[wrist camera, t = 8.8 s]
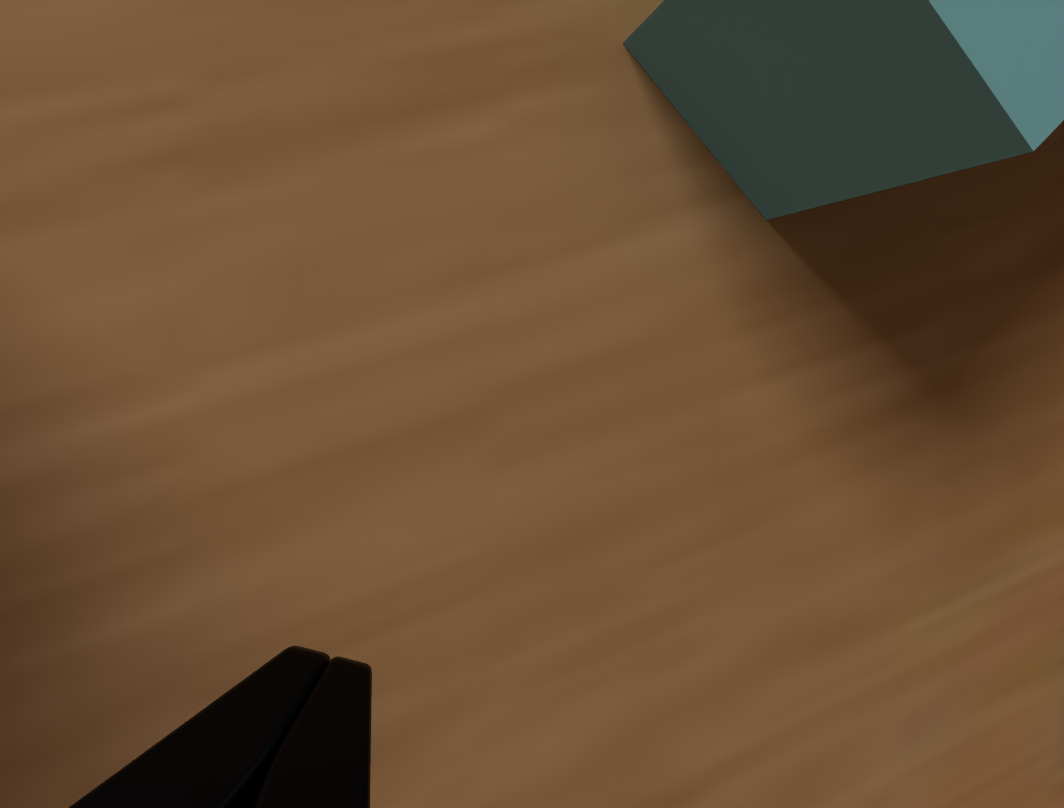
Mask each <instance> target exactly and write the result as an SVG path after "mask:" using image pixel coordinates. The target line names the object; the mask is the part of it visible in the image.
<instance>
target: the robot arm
mask: <svg viewBox="0 0 1064 808" xmlns="http://www.w3.org/2000/svg"><path fill="white" fill-rule="evenodd" d="M371 695H372V670H371V667H370V666H369V665H368V664H366V663H362V662H359V661H355V660H351V659H347V658H343V657H334V658H332V659H331V660H330V657H329V656H328V655H327V654H326V653H323V652H319V651H315V650H311V649H308V648H304V647H300V646H292V647H289V648H287V649H285V650H284V651H282V652H281V653H279V654H278V655H277V656H275V657H274V658H273V659H271V660H270V661H269V662H267V663H266V664H264V665H263V666H262V667H260V668H259V669H258V670H256V671H255V672H253V673H252V674H251V675H249V676H248V677H247V678H245V679H244V680H243V681H241V682H240V683H238V684H237V685H236V686H234V687H233V688H232V689H230V690H229V691H228V692H226V693H225V694H223V695H222V696H221V697H219V698H218V699H217V700H215V701H214V702H212V703H211V704H210V705H208V706H207V707H206V708H204V709H203V710H202V711H200V712H199V713H197V714H196V715H195V716H193V717H192V718H191V719H189V720H188V721H187V722H185V723H184V724H182V725H181V726H180V727H178V728H177V729H176V730H174V731H173V732H171V733H170V734H169V735H167V736H166V737H165V738H163V739H162V740H161V741H159V742H158V743H156V744H155V745H154V746H152V747H151V748H150V749H148V750H147V751H145V752H144V753H143V754H141V755H140V756H139V757H137V758H136V759H135V760H133V761H132V762H130V763H129V764H128V765H126V766H125V767H124V768H122V769H121V770H120V771H118V772H117V773H115V774H114V775H113V776H111V777H110V778H109V779H107V780H106V781H104V782H103V783H102V784H100V785H99V786H98V787H96V788H95V789H94V790H92V791H91V792H89V793H88V794H87V795H85V796H84V797H83V798H81V799H80V800H79V801H77V802H76V803H74V804H73V805H72V806H70V807H69V808H370V765H371Z"/></svg>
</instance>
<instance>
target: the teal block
mask: <svg viewBox="0 0 1064 808" xmlns="http://www.w3.org/2000/svg"><path fill="white" fill-rule="evenodd" d="M623 44H624V45H625V46H626V48H627V49H628V50H629V51H630V53H631V54H632V55H633V56H634V58H635V59H636V60H637V61H638V63H639V64H640V65H641V66H642V68H643V69H644V70H645V71H646V72H647V74H648V75H649V76H650V77H651V79H652V80H653V81H654V82H655V84H656V85H657V86H658V87H659V89H660V90H661V91H662V92H663V94H664V95H665V96H666V97H667V98H668V100H669V101H670V102H671V103H672V105H673V106H674V107H675V108H676V110H677V111H678V112H679V113H680V115H681V116H682V117H683V118H684V120H685V121H686V122H687V123H688V125H689V126H690V127H691V128H692V129H693V131H694V132H695V133H696V134H697V136H698V137H699V138H700V139H701V141H702V142H703V143H704V144H705V146H706V147H707V148H708V149H709V151H710V152H711V153H712V154H713V155H714V157H715V158H716V159H717V160H718V162H719V163H720V164H721V165H722V167H723V168H724V169H725V170H726V172H727V173H728V174H729V175H730V177H731V178H732V179H733V180H734V181H735V183H736V184H737V185H738V186H739V188H740V189H741V190H742V191H743V193H744V194H745V195H746V196H747V198H748V199H749V200H750V201H751V203H752V204H753V205H754V206H755V207H756V209H757V210H758V211H759V212H760V214H761V215H762V216H763V217H764V219H765V220H769V219H773V218H776V217H780V216H784V215H788V214H792V213H796V212H800V211H804V210H808V209H811V208H815V207H819V206H823V205H827V204H831V203H835V202H839V201H843V200H847V199H850V198H854V197H858V196H862V195H866V194H870V193H874V192H878V191H882V190H885V189H889V188H893V187H897V186H901V185H905V184H909V183H913V182H917V181H920V180H924V179H928V178H932V177H936V176H940V175H944V174H948V173H952V172H955V171H959V170H963V169H967V168H971V167H975V166H979V165H983V164H987V163H991V162H994V161H998V160H1002V159H1006V158H1010V157H1014V156H1018V155H1022V154H1026V153H1029V152H1033V151H1035V150H1036V148H1037V147H1038V146H1039V145H1040V144H1041V143H1042V142H1043V141H1044V140H1045V139H1046V138H1047V137H1048V136H1049V135H1050V134H1051V133H1052V132H1053V131H1054V130H1055V129H1056V128H1057V127H1058V125H1059V124H1060V123H1061V122H1062V121H1063V120H1064V0H664V1H663V2H662V3H661V4H660V5H659V7H658V8H657V9H656V10H655V11H654V12H653V13H652V14H651V15H650V16H649V17H648V18H647V19H646V20H645V21H644V22H643V23H642V24H641V25H640V26H639V27H638V28H637V29H636V30H635V31H634V32H633V33H632V34H631V35H630V36H629V37H628V38H627V39H626V40H625V41H624V42H623Z"/></svg>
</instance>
